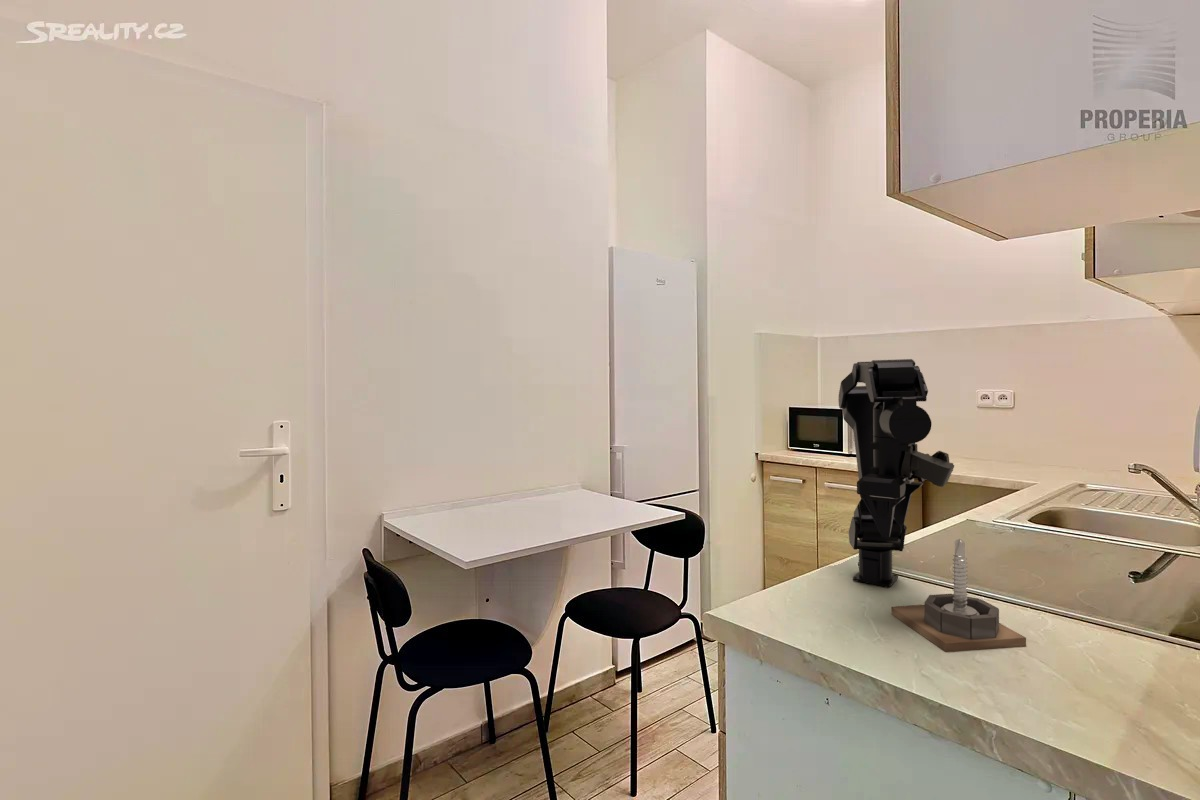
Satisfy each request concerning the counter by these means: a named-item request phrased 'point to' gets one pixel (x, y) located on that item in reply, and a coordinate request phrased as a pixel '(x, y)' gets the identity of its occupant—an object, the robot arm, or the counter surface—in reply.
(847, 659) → the counter surface
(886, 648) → the counter surface
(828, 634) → the counter surface
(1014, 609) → the counter surface
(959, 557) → the screw
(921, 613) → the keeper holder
